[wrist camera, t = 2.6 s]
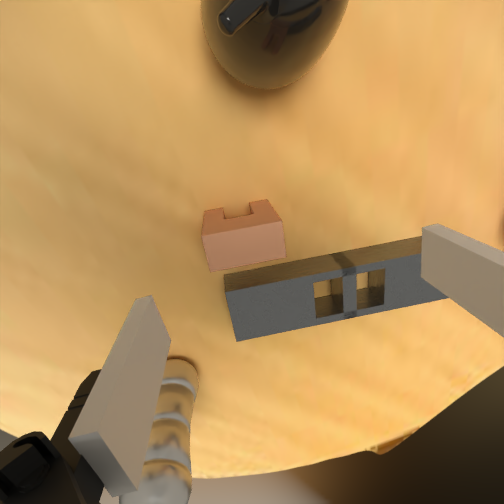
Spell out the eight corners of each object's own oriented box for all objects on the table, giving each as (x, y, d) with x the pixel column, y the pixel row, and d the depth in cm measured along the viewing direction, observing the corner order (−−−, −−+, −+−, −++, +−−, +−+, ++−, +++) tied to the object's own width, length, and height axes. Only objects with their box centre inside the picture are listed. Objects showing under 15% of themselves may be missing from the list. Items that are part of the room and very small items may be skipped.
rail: (234, 320, 38) (236, 341, 34) (224, 275, 35) (225, 292, 31) (437, 279, 39) (460, 295, 35) (443, 231, 36) (469, 243, 32)
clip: (211, 240, 33) (210, 272, 26) (204, 211, 32) (201, 236, 24) (271, 228, 33) (286, 257, 26) (267, 199, 32) (282, 220, 25)
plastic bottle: (141, 364, 39) (75, 572, 21) (185, 344, 39) (157, 539, 20) (166, 393, 42) (127, 601, 23) (208, 375, 41) (201, 572, 23)
